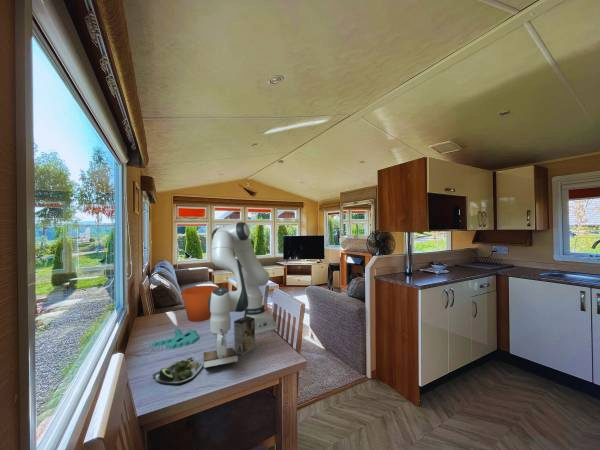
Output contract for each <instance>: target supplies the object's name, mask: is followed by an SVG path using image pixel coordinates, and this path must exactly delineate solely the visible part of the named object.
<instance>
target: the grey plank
mask: <svg viewBox="0 0 600 450" xmlns="http://www.w3.org/2000/svg"><path fill="white" fill-rule="evenodd" d="M235 362H238V355H235V356H233V357H227V358H222V359H217V360H212V361H206V362H204V361H203V368H204V369H205V368H209V367H214V366H219V365H225V364H231V363H235Z"/></svg>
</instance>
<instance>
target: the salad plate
mask: <svg viewBox="0 0 600 450" xmlns="http://www.w3.org/2000/svg"><path fill="white" fill-rule="evenodd" d="M193 359H194V358H193V357H189V358H185V359H182V360H179V361H178V360H177V361H175V362H171V363H170V364H169V365H167V366H166V367H162V368H160V370H159V371H157V372H155V373H154V374H151V377H153V378H155V381H156V383H158V384H160V385H163V386H173V387H175V386H181V385H186V384H187V383H189V382H191V381H192V380H193V379H194V378H196V375H197V374H199V372H200V371H201V370H202V369H203V364H202V362H200V361H192V360H193ZM192 369H195V370H194V371H192Z"/></svg>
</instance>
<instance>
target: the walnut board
mask: <svg viewBox="0 0 600 450" xmlns="http://www.w3.org/2000/svg"><path fill="white" fill-rule="evenodd" d="M233 356H236V355H235V352H234V347H229V348H228V347H227V353H226V355H225V356H223V357H222V358H227V357H233ZM222 358H218V356H217V349H216V350H211V351H205V352H203V363H204V362H206V361H212V360H217V359H222Z"/></svg>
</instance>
